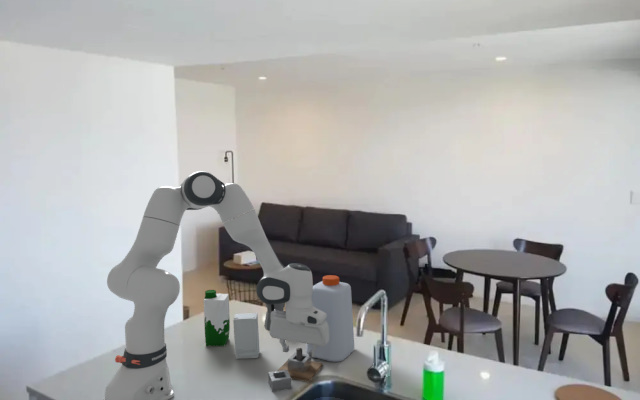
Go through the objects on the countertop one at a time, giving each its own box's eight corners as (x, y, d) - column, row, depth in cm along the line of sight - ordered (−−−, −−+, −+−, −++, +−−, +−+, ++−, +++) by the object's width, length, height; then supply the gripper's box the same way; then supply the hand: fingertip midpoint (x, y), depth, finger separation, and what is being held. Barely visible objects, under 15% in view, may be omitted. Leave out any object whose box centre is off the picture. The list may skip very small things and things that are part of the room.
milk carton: (208, 337, 189) (207, 287, 187) (231, 337, 189) (230, 287, 186) (202, 347, 180) (201, 294, 178) (227, 347, 180) (225, 295, 178)
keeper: (309, 381, 154) (309, 359, 153) (275, 375, 159) (275, 353, 158) (322, 365, 165) (322, 344, 165) (290, 360, 170) (290, 339, 169)
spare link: (291, 388, 150) (291, 378, 150) (272, 391, 148) (272, 381, 148) (286, 379, 156) (286, 369, 155) (268, 382, 154) (268, 372, 153)
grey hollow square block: (304, 373, 158) (304, 362, 158) (287, 369, 160) (287, 359, 160) (311, 365, 164) (311, 355, 163) (295, 362, 166) (295, 352, 165)
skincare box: (259, 351, 177) (259, 312, 175) (258, 359, 171) (257, 318, 169) (236, 352, 176) (235, 312, 174) (234, 359, 170) (233, 318, 168)
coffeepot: (266, 320, 207) (266, 279, 205) (288, 321, 207) (288, 279, 204) (260, 335, 192) (260, 290, 190) (284, 335, 191) (284, 291, 189)
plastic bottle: (321, 340, 186) (321, 269, 183) (358, 348, 179) (358, 274, 176) (302, 356, 173) (301, 279, 169) (340, 365, 166) (341, 285, 163)
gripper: (266, 311, 160) (266, 352, 161) (324, 320, 152) (323, 363, 154) (274, 306, 166) (274, 345, 167) (331, 314, 158) (330, 355, 160)
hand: (298, 353), depth 160 cm, fingers open, 8 cm apart
